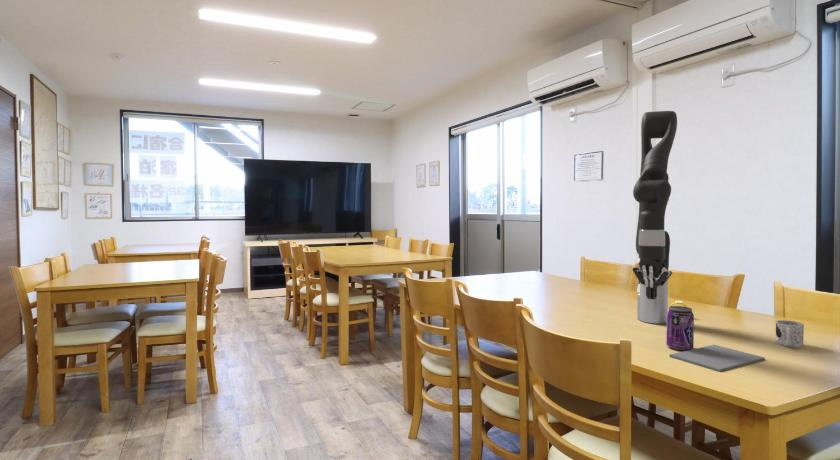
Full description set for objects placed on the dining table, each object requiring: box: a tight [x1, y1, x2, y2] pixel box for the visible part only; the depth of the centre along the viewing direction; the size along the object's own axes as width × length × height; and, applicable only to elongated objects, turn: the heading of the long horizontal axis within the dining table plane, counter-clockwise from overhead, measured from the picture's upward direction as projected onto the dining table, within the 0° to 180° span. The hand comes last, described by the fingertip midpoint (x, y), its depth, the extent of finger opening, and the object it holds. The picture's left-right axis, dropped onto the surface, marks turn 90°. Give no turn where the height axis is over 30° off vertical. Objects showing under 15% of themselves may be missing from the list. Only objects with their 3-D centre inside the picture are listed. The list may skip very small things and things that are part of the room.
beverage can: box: [665, 305, 695, 351], centre depth 143 cm, size 7×7×12 cm
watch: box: [670, 300, 688, 307], centre depth 182 cm, size 6×3×6 cm, turn 53°
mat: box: [669, 344, 766, 373], centre depth 133 cm, size 14×20×1 cm
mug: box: [775, 319, 805, 349], centre depth 144 cm, size 10×7×7 cm, turn 141°
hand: (651, 298), depth 151 cm, fingers closed
